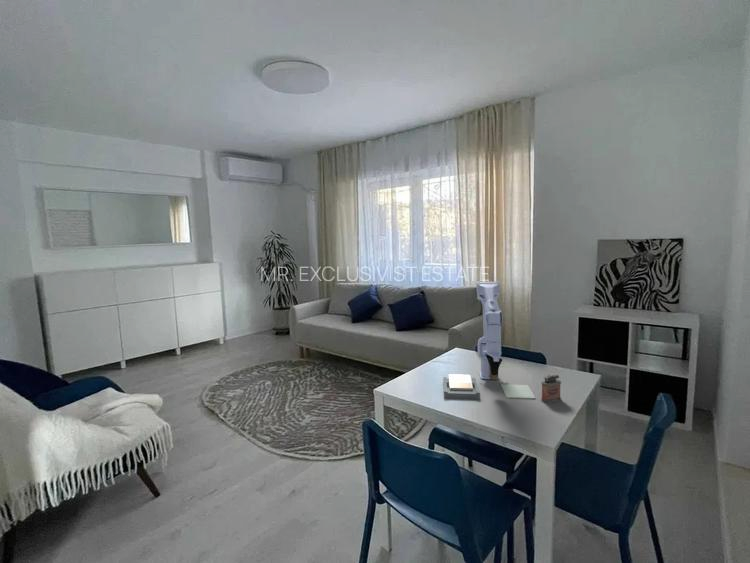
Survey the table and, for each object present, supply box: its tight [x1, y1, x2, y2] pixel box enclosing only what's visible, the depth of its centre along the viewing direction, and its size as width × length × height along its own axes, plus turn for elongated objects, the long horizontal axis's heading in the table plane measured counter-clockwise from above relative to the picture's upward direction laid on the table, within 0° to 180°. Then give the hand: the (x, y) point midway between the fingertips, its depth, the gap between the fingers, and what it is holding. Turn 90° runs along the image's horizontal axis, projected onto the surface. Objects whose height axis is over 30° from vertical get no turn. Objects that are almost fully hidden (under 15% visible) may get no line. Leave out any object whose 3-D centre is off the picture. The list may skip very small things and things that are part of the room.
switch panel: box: [442, 376, 481, 400], centre depth 155 cm, size 16×14×4 cm
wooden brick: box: [489, 364, 499, 380], centre depth 149 cm, size 3×3×7 cm
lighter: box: [541, 373, 562, 404], centre depth 143 cm, size 8×3×10 cm, turn 105°
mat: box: [500, 384, 537, 400], centre depth 152 cm, size 13×11×1 cm
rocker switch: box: [448, 373, 473, 390], centre depth 155 cm, size 10×9×1 cm
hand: (493, 373), depth 150 cm, fingers closed on wooden brick, 3 cm apart
